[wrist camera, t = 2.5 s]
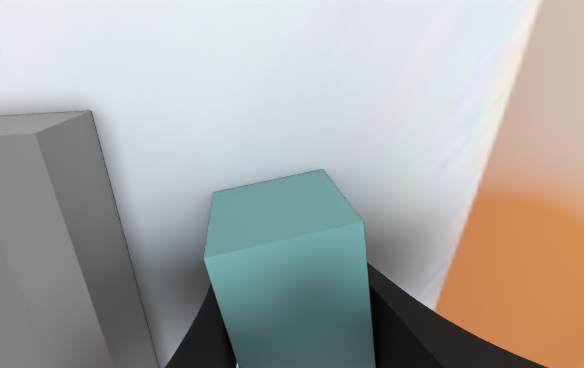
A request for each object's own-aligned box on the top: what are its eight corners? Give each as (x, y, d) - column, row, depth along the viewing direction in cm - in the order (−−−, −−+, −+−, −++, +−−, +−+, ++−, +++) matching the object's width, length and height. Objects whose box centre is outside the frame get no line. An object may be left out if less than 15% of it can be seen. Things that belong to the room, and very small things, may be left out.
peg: (344, 329, 15) (379, 420, 11) (258, 351, 15) (266, 452, 11) (323, 169, 12) (363, 221, 8) (213, 192, 11) (203, 258, 8)
